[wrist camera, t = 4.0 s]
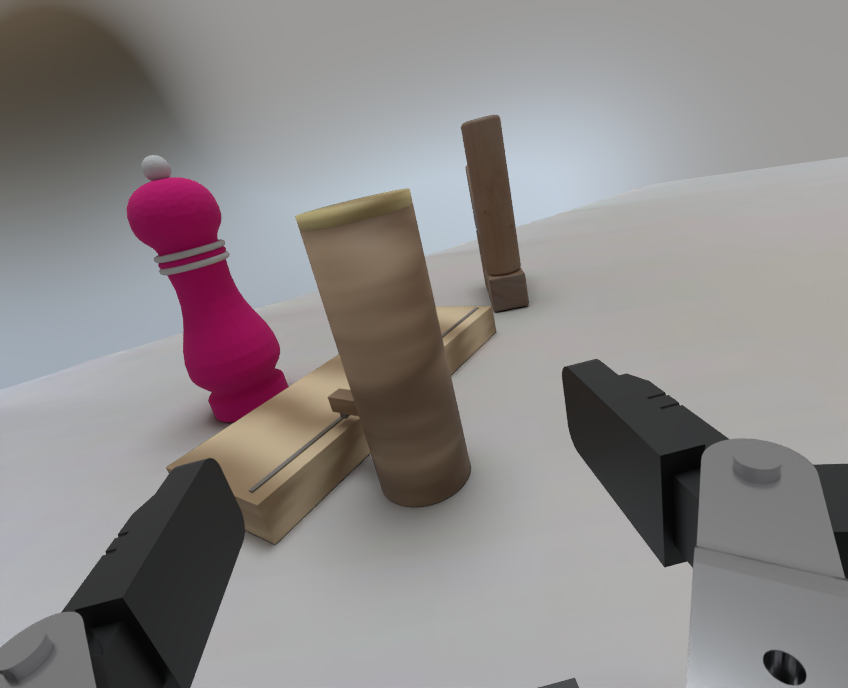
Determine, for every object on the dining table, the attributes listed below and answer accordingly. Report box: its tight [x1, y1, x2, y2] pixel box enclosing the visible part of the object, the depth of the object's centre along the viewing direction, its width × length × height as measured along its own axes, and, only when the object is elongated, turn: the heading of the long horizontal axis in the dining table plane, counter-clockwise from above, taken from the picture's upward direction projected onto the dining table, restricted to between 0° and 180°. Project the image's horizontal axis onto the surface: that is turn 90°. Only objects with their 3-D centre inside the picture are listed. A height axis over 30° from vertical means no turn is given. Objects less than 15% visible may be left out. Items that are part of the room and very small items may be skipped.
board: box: [166, 306, 496, 544], centre depth 34 cm, size 26×9×3 cm, turn 147°
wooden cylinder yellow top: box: [295, 189, 471, 507], centre depth 23 cm, size 5×8×15 cm, turn 57°
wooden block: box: [461, 115, 529, 311], centre depth 47 cm, size 4×11×18 cm, turn 178°
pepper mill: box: [127, 155, 288, 423], centre depth 35 cm, size 7×7×20 cm
